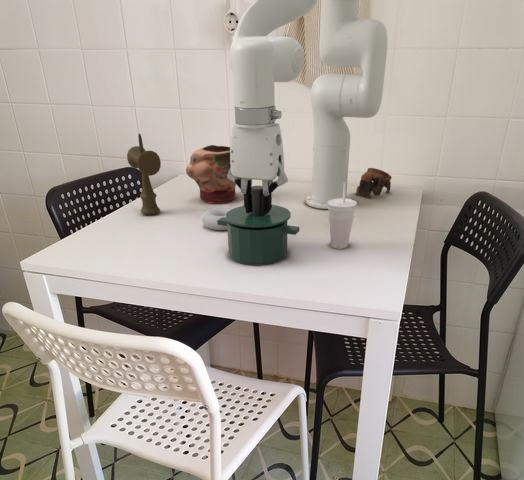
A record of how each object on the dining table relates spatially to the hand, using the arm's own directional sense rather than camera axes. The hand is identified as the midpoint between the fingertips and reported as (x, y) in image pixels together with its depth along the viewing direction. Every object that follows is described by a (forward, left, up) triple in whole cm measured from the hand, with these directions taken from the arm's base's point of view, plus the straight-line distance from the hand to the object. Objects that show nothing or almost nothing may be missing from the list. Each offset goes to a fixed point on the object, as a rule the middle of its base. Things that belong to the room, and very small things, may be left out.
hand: (258, 211), depth 105 cm
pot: (0, 0, -9) cm, 9 cm away
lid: (0, 0, -1) cm, 1 cm away
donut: (-14, -16, -9) cm, 23 cm away
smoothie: (-11, +15, -9) cm, 21 cm away
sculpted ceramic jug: (-35, -27, -9) cm, 45 cm away
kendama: (-16, -39, -9) cm, 43 cm away
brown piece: (-53, +13, -9) cm, 55 cm away
